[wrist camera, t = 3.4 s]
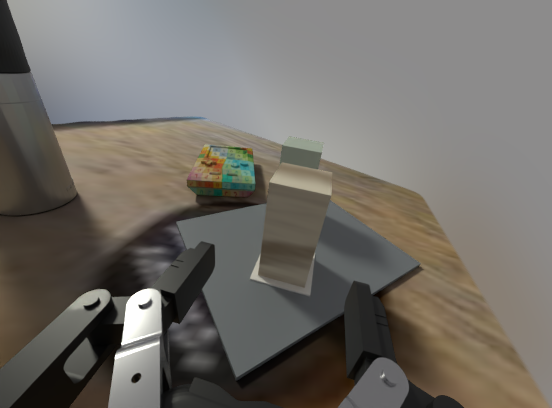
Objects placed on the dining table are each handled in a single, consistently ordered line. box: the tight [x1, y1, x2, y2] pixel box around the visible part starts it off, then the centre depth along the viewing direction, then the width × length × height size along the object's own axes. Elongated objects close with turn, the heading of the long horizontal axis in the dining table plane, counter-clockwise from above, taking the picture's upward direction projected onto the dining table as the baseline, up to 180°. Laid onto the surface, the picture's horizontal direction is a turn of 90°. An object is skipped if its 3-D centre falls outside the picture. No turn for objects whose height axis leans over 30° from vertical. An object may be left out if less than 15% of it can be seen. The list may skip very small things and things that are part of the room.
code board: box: [176, 200, 421, 381], centre depth 32 cm, size 28×22×1 cm
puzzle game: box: [187, 145, 255, 197], centre depth 48 cm, size 12×5×20 cm
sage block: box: [279, 137, 323, 169], centre depth 36 cm, size 6×6×12 cm
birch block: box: [258, 162, 332, 288], centre depth 25 cm, size 6×6×12 cm
